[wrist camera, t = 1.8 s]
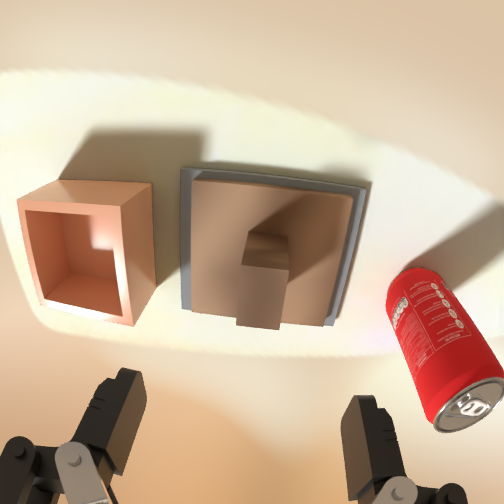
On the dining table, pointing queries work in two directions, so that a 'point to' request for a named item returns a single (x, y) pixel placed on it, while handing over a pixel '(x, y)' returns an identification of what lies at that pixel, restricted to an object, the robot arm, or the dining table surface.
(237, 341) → the dining table surface
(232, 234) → the lid
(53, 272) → the open salmon box
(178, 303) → the dining table surface
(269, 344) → the dining table surface
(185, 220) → the mat
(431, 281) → the beverage can
